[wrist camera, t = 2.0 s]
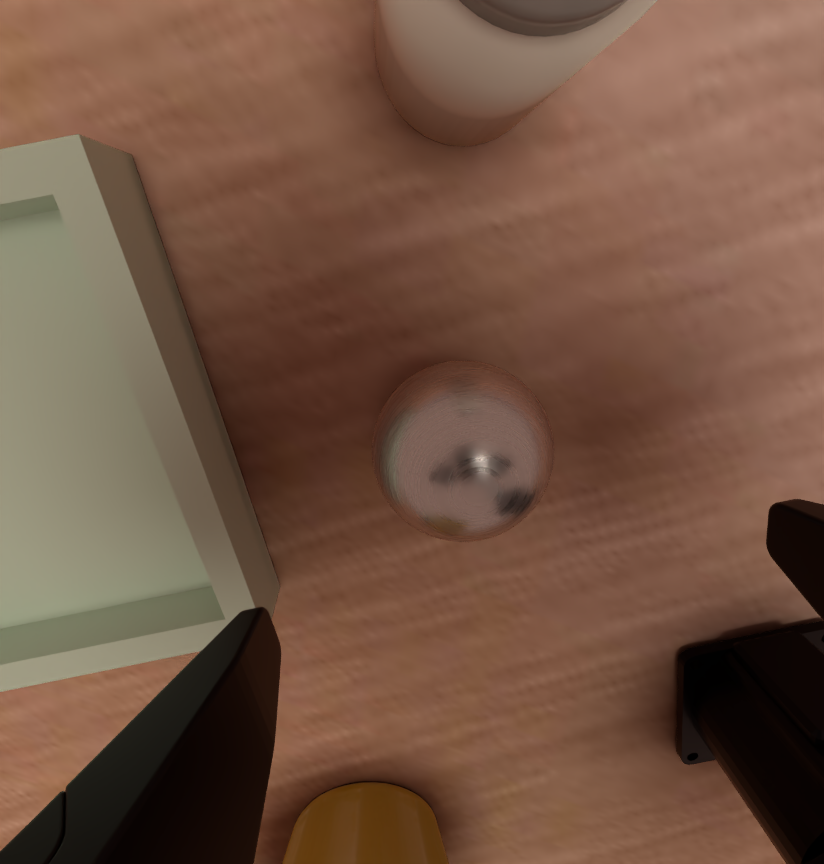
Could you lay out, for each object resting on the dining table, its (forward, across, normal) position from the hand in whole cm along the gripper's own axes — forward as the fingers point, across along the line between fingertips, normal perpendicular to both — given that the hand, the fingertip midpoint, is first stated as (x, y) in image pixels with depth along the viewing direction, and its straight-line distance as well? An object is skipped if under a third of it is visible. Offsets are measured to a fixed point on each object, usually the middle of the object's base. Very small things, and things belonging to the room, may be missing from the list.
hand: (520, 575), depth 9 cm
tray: (+8, +13, -2) cm, 15 cm away
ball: (+8, 0, 0) cm, 8 cm away
